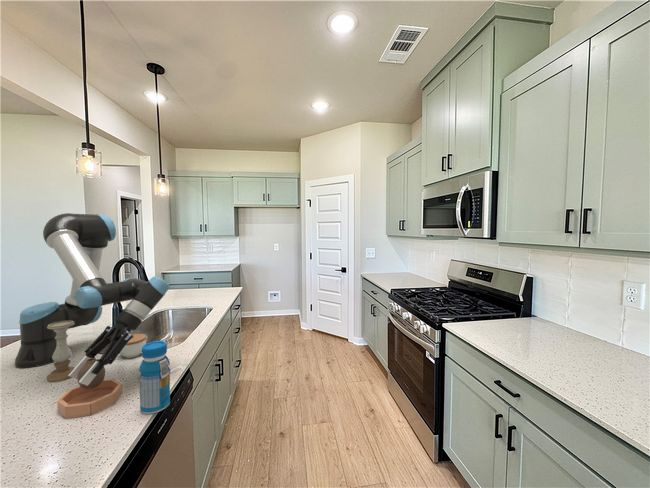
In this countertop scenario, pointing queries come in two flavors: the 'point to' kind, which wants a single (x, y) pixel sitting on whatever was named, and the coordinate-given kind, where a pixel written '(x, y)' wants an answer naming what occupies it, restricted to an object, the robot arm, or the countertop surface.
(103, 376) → the vase
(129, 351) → the lidded jar
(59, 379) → the candle holder
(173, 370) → the fork
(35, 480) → the countertop surface
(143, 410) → the beverage bottle
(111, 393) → the terracotta dish
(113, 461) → the countertop surface
